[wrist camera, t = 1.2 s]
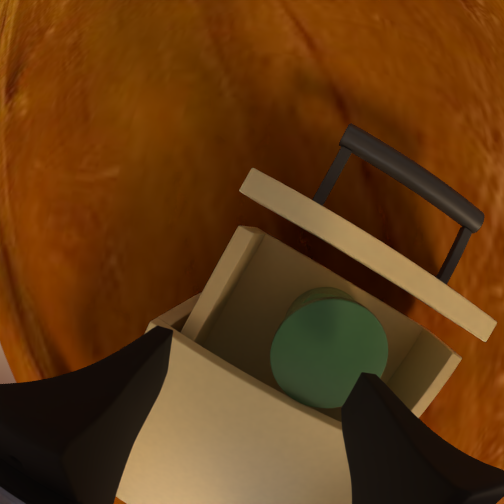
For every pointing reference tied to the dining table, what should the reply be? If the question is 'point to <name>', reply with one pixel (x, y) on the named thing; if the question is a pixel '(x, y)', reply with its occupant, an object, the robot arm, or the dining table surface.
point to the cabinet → (230, 437)
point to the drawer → (337, 278)
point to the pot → (326, 347)
